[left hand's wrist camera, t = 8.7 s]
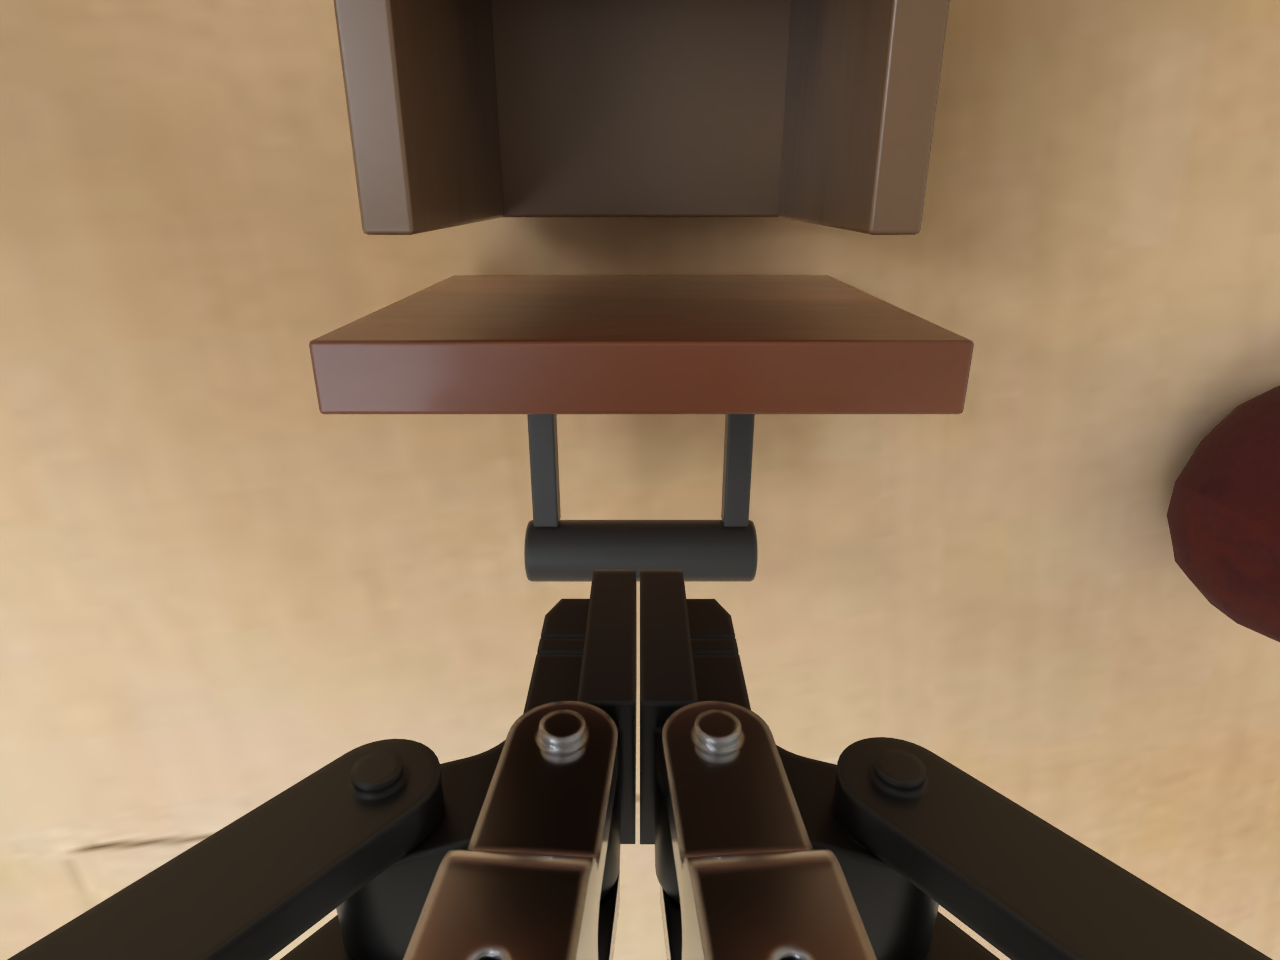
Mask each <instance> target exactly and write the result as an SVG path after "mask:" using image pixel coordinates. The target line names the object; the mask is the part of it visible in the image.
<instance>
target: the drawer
mask: <svg viewBox="0 0 1280 960" xmlns="http://www.w3.org/2000/svg"><path fill="white" fill-rule="evenodd" d="M334 7H335V15H336V23H337V31H338V39H339V47H340V54H341V62H342V70H343V78H344V86H345V94H346V102H347V110H348V118H349V125H350V133H351V141H352V149H353V157H354V165H355V173H356V181H357V189H358V197H359V204H360V212H361V220H362V228H363V231H364V233H365V234H368V235H412V234H417V233H422V232H427V231H432V230H438V229H443V228H448V227H453V226H458V225H464V224H469V223H474V222H479V221H484V220H490V219H495V218H500V217H782V218H787V219H793V220H798V221H803V222H809V223H814V224H819V225H824V226H830V227H835V228H840V229H845V230H851V231H856V232H861V233H866V234H872V235H915V234H917V233H919V231H920V227H921V219H922V212H923V204H924V196H925V188H926V180H927V172H928V165H929V157H930V149H931V141H932V133H933V125H934V118H935V110H936V102H937V94H938V86H939V78H940V71H941V63H942V55H943V47H944V39H945V31H946V24H947V16H948V8H949V0H334ZM309 346H310V353H311V359H312V365H313V372H314V378H315V384H316V390H317V397H318V403H319V409H320V412H321V413H323V414H528V432H529V450H530V467H531V485H532V503H533V520H532V521H530V522H529V523H528V526H527V529H526V536H525V569H526V574H527V577H528V580H530V581H592V578H593V571H594V570H636V581H640V570H683V576H684V581H752V580H753V579H754V577H755V574H756V569H757V536H756V530H755V526H754V523H753V522H752V521H750V520H748V519H749V502H750V484H751V467H752V449H753V432H754V414H960V413H962V412H963V408H964V402H965V396H966V389H967V383H968V377H969V371H970V364H971V358H972V352H973V346H974V345H973V341H971V340H969V339H966V338H964V337H962V336H960V335H958V334H955V333H953V332H951V331H949V330H946V329H944V328H942V327H940V326H938V325H935V324H933V323H931V322H929V321H927V320H924V319H922V318H920V317H918V316H916V315H913V314H911V313H909V312H907V311H905V310H902V309H900V308H898V307H896V306H894V305H891V304H889V303H887V302H885V301H883V300H880V299H878V298H876V297H874V296H872V295H869V294H867V293H865V292H863V291H861V290H858V289H856V288H854V287H852V286H849V285H847V284H845V283H843V282H841V281H838V280H836V279H834V278H832V277H830V276H452V277H450V278H448V279H446V280H443V281H441V282H439V283H437V284H435V285H433V286H430V287H428V288H426V289H424V290H422V291H419V292H417V293H415V294H413V295H411V296H408V297H406V298H404V299H402V300H400V301H398V302H395V303H393V304H391V305H389V306H387V307H384V308H382V309H380V310H378V311H376V312H374V313H371V314H369V315H367V316H365V317H363V318H360V319H358V320H356V321H354V322H352V323H349V324H347V325H345V326H343V327H341V328H339V329H336V330H334V331H332V332H330V333H328V334H325V335H323V336H321V337H319V338H317V339H315V340H312V341H310V344H309ZM556 414H726V421H725V444H724V468H723V491H722V515H721V517H722V520H560V517H561V516H560V492H559V469H558V445H557V421H556Z"/></svg>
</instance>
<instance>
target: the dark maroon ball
mask: <svg viewBox="0 0 1280 960" xmlns="http://www.w3.org/2000/svg"><path fill="white" fill-rule="evenodd" d="M1167 518H1168V523H1169V528H1170V534H1171V539H1172V545H1173V551H1174V557H1175V562H1176V563H1177V564H1178V565H1179V567H1180V568H1181V569H1182V570H1183V572H1184V573H1185V574H1186V575H1187V577H1188V578H1189V579H1190V580H1191V581H1192V582H1193V584H1194V585H1195V586H1196V587H1197V588H1198V589H1199V591H1200V592H1201V593H1202V594H1203V595H1204V596H1205V598H1206V599H1207V600H1208V601H1209V602H1210V603H1211V604H1212V605H1213V606H1215V607H1216V608H1217V609H1219V610H1220V611H1221V612H1223V613H1224V614H1225V615H1227V616H1228V617H1229V618H1231V619H1232V620H1233V621H1235V622H1236V623H1238V624H1240V625H1242V626H1245V627H1247V628H1249V629H1251V630H1254V631H1256V632H1258V633H1260V634H1262V635H1265V636H1267V637H1269V638H1271V639H1274V640H1276V641H1278V642H1280V386H1278V387H1275V388H1273V389H1271V390H1269V391H1267V392H1265V393H1263V394H1261V395H1259V396H1257V397H1255V398H1253V399H1251V400H1249V401H1247V402H1245V403H1243V404H1241V405H1239V406H1237V407H1236V408H1235V409H1234V410H1233V411H1232V412H1231V413H1230V414H1229V415H1228V416H1227V417H1226V418H1225V419H1224V420H1223V421H1222V422H1221V423H1220V424H1219V425H1218V426H1217V427H1216V428H1214V429H1213V430H1212V431H1211V432H1210V433H1209V434H1208V435H1207V436H1206V437H1205V438H1204V439H1203V440H1202V441H1201V443H1200V444H1199V446H1198V447H1197V449H1196V451H1195V452H1194V454H1193V455H1192V457H1191V458H1190V460H1189V462H1188V463H1187V465H1186V466H1185V468H1184V469H1183V471H1182V473H1181V474H1180V476H1179V477H1178V479H1177V480H1176V482H1175V486H1174V489H1173V493H1172V497H1171V501H1170V505H1169V509H1168V513H1167Z"/></svg>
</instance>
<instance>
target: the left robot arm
mask: <svg viewBox="0 0 1280 960" xmlns="http://www.w3.org/2000/svg"><path fill="white" fill-rule="evenodd" d="M635 804H636V570H594V571H593V578H592V586H591V594H590V599H561V600H560V601H559V602H558V603H557V604H556V605H555V606H554V607H553V608H552V609H551V610H550V611H549V612H548V613H547V614H546V615H545V619H544V624H543V628H542V633H541V639H540V642H539V646H538V654H537V655H536V660H535V664H534V669H533V673H532V678H531V682H530V687H529V691H528V696H527V700H526V705H525V709H524V714H523V715H522V716H521V717H520V718H518V719H517V720H516V721H515V723H514V724H513V725H512V727H511V729H510V731H509V733H508V735H507V738H506V740H505V741H503V742H502V743H500V744H499V745H498V746H496V747H494V748H492V749H490V750H488V751H486V752H483V753H481V754H478V755H475V756H472V757H468V758H464V759H460V760H456V761H451V762H447V763H443V764H440V763H439V761H438V758H437V756H436V755H435V753H434V752H433V751H432V750H431V749H430V748H428V747H427V746H425V745H423V744H421V743H418V742H415V741H412V740H406V739H388V740H381V741H376V742H372V743H369V744H365V745H363V746H360V747H358V748H355V749H353V750H352V751H350V752H348V753H346V754H344V755H343V756H341V757H339V758H338V759H336V760H334V761H333V762H331V763H329V764H328V765H326V766H325V767H323V768H321V769H320V770H318V771H316V772H315V773H313V774H311V775H310V776H308V777H306V778H305V779H303V780H302V781H300V782H298V783H297V784H295V785H293V786H292V787H290V788H288V789H287V790H285V791H283V792H282V793H280V794H279V795H277V796H275V797H274V798H272V799H270V800H269V801H267V802H265V803H264V804H262V805H261V806H259V807H257V808H256V809H254V810H252V811H251V812H249V813H247V814H246V815H244V816H242V817H241V818H239V819H238V820H236V821H234V822H233V823H231V824H229V825H228V826H226V827H224V828H223V829H221V830H219V831H218V832H216V833H215V834H213V835H211V836H210V837H208V838H206V839H205V840H203V841H201V842H200V843H198V844H196V845H195V846H193V847H192V848H190V849H188V850H187V851H185V852H183V853H182V854H180V855H178V856H177V857H175V858H173V859H172V860H170V861H169V862H167V863H165V864H164V865H162V866H160V867H159V868H157V869H155V870H154V871H152V872H150V873H149V874H147V875H146V876H144V877H142V878H141V879H139V880H137V881H136V882H134V883H132V884H131V885H129V886H127V887H126V888H124V889H123V890H121V891H119V892H118V893H116V894H114V895H113V896H111V897H109V898H108V899H106V900H105V901H103V902H101V903H100V904H98V905H96V906H95V907H93V908H91V909H90V910H88V911H86V912H85V913H83V914H82V915H80V916H78V917H77V918H75V919H73V920H72V921H70V922H68V923H67V924H65V925H63V926H62V927H60V928H59V929H57V930H55V931H54V932H52V933H50V934H49V935H47V936H45V937H44V938H42V939H40V940H39V941H37V942H36V943H34V944H32V945H31V946H29V947H27V948H26V949H24V950H22V951H21V952H19V953H17V954H16V955H14V956H13V957H11V958H9V959H8V960H269V959H270V958H272V957H273V956H274V955H275V954H277V953H278V952H279V951H281V950H282V949H283V948H285V947H286V946H287V945H288V944H290V943H291V942H292V941H294V940H295V939H296V938H298V937H299V936H300V935H301V934H303V933H304V932H305V931H307V930H308V929H309V928H311V927H312V926H313V925H315V924H316V923H317V922H318V921H320V920H321V919H322V918H324V917H325V916H326V915H328V914H329V913H330V912H331V911H333V910H334V909H335V908H336V909H337V914H338V915H337V916H335V917H334V918H333V919H332V920H330V921H329V922H328V923H326V924H325V925H324V926H323V927H321V928H320V929H319V930H317V931H316V932H315V933H314V934H312V935H311V936H310V937H308V938H307V939H306V940H305V941H303V942H302V943H301V944H299V945H298V946H297V947H296V948H294V949H293V950H292V951H290V952H289V953H288V954H287V955H285V956H284V957H283V958H281V959H280V960H613V955H614V946H615V937H616V929H617V920H618V911H619V902H620V870H619V866H620V844H635ZM640 844H655V867H656V874H657V877H658V880H659V883H660V902H661V911H662V920H663V929H664V937H665V946H666V955H667V960H1000V959H999V958H997V957H996V956H995V955H993V954H992V953H991V952H990V951H988V950H987V949H986V948H984V947H983V946H982V945H981V944H979V943H978V942H977V941H975V940H974V939H973V938H972V937H970V936H969V935H968V934H966V933H965V932H964V931H963V930H961V929H960V928H959V927H957V926H956V925H955V924H954V923H952V922H951V921H950V920H948V919H947V918H946V917H944V916H943V915H942V914H941V913H939V912H938V906H939V905H941V906H942V907H943V908H945V909H946V910H947V911H949V912H950V913H951V914H952V915H954V916H955V917H956V918H958V919H959V920H960V921H962V922H963V923H964V924H965V925H967V926H968V927H969V928H971V929H972V930H973V931H975V932H976V933H977V934H978V935H980V936H981V937H982V938H984V939H985V940H986V941H988V942H989V943H990V944H992V945H993V946H994V947H995V948H997V949H998V950H999V951H1001V952H1002V953H1003V954H1005V955H1006V956H1007V957H1008V958H1010V959H1011V960H1272V959H1271V958H1269V957H1267V956H1266V955H1264V954H1262V953H1261V952H1259V951H1258V950H1256V949H1254V948H1253V947H1251V946H1249V945H1248V944H1246V943H1244V942H1243V941H1241V940H1240V939H1238V938H1236V937H1235V936H1233V935H1231V934H1230V933H1228V932H1226V931H1225V930H1223V929H1221V928H1220V927H1218V926H1217V925H1215V924H1213V923H1212V922H1210V921H1208V920H1207V919H1205V918H1203V917H1202V916H1200V915H1198V914H1197V913H1195V912H1194V911H1192V910H1190V909H1189V908H1187V907H1185V906H1184V905H1182V904H1180V903H1179V902H1177V901H1175V900H1174V899H1172V898H1171V897H1169V896H1167V895H1166V894H1164V893H1162V892H1161V891H1159V890H1157V889H1156V888H1154V887H1152V886H1151V885H1149V884H1148V883H1146V882H1144V881H1143V880H1141V879H1139V878H1138V877H1136V876H1134V875H1133V874H1131V873H1129V872H1128V871H1126V870H1125V869H1123V868H1121V867H1120V866H1118V865H1116V864H1115V863H1113V862H1111V861H1110V860H1108V859H1107V858H1105V857H1103V856H1102V855H1100V854H1098V853H1097V852H1095V851H1093V850H1092V849H1090V848H1088V847H1087V846H1085V845H1084V844H1082V843H1080V842H1079V841H1077V840H1075V839H1074V838H1072V837H1070V836H1069V835H1067V834H1065V833H1064V832H1062V831H1061V830H1059V829H1057V828H1056V827H1054V826H1052V825H1051V824H1049V823H1047V822H1046V821H1044V820H1042V819H1041V818H1039V817H1038V816H1036V815H1034V814H1033V813H1031V812H1029V811H1028V810H1026V809H1024V808H1023V807H1021V806H1019V805H1018V804H1016V803H1015V802H1013V801H1011V800H1010V799H1008V798H1006V797H1005V796H1003V795H1001V794H1000V793H998V792H996V791H995V790H993V789H992V788H990V787H988V786H987V785H985V784H983V783H982V782H980V781H978V780H977V779H975V778H973V777H972V776H970V775H969V774H967V773H965V772H964V771H962V770H960V769H959V768H957V767H955V766H954V765H952V764H951V763H949V762H947V761H946V760H944V759H942V758H941V757H939V756H937V755H936V754H934V753H932V752H931V751H929V750H927V749H925V748H923V747H921V746H919V745H916V744H914V743H911V742H907V741H904V740H900V739H894V738H885V737H877V738H868V739H863V740H860V741H857V742H855V743H853V744H851V745H849V746H848V747H847V748H846V749H845V750H844V751H843V752H842V754H841V755H840V757H839V760H838V764H837V765H835V764H831V763H826V762H822V761H818V760H814V759H810V758H806V757H802V756H799V755H796V754H793V753H791V752H788V751H786V750H784V749H782V748H781V747H779V746H777V745H776V744H775V741H774V738H773V735H772V733H771V731H770V729H769V727H768V725H767V724H766V723H765V721H764V720H763V719H762V718H760V717H759V716H758V715H757V714H755V713H754V712H752V711H751V708H750V703H749V699H748V694H747V689H746V685H745V680H744V675H743V671H742V666H741V661H740V657H739V655H738V647H737V643H736V639H735V633H734V629H733V624H732V619H731V616H730V614H729V613H728V612H727V611H726V610H725V609H724V608H723V607H722V606H721V605H720V604H719V603H718V602H717V601H716V600H715V599H686V594H685V585H684V576H683V570H640Z"/></svg>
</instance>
